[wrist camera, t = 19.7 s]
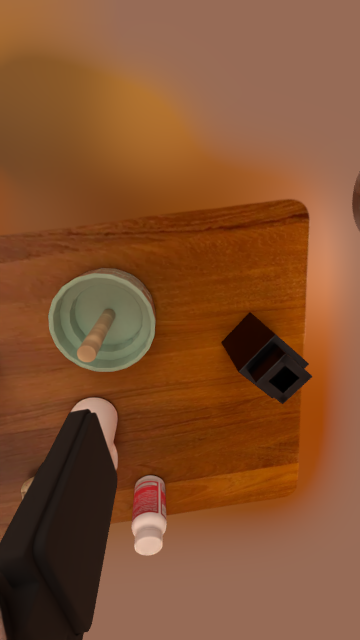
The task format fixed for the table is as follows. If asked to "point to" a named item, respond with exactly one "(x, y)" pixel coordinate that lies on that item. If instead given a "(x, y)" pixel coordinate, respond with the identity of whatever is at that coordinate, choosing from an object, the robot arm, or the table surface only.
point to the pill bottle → (149, 515)
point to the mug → (103, 420)
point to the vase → (266, 359)
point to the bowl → (87, 306)
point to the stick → (96, 336)
